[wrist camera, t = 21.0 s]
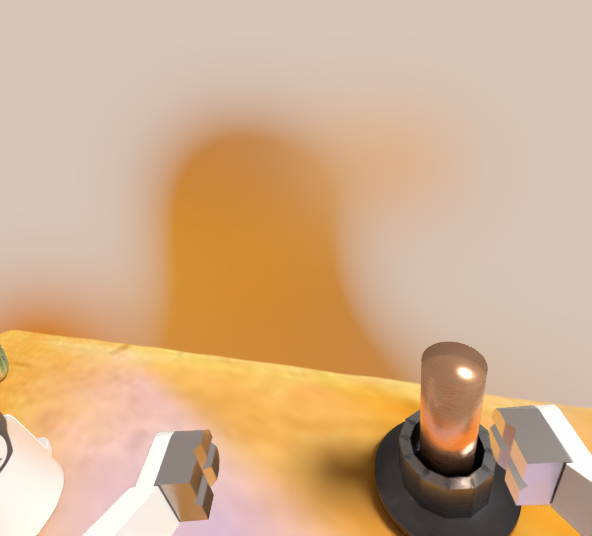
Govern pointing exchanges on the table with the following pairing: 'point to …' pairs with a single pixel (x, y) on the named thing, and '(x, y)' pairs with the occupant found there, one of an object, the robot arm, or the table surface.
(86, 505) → the table surface
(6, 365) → the vegetable
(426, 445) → the copper pipe
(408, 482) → the pipe sleeve
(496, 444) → the robot arm
